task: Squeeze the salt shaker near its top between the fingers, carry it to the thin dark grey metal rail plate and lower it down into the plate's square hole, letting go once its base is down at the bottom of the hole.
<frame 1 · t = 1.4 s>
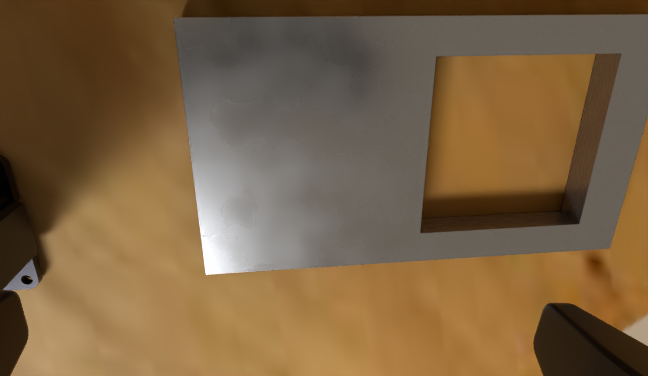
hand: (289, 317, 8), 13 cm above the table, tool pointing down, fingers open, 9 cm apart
rail plate: (416, 142, 20), on the table
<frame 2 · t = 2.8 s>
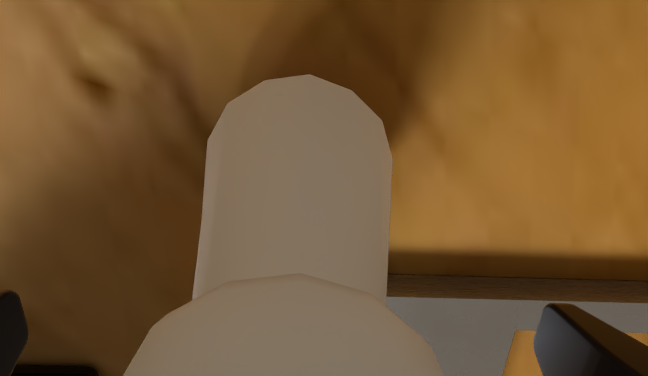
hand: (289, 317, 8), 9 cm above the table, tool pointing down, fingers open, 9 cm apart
rail plate: (482, 373, 21), on the table
salt shaker: (300, 143, 16), on the table
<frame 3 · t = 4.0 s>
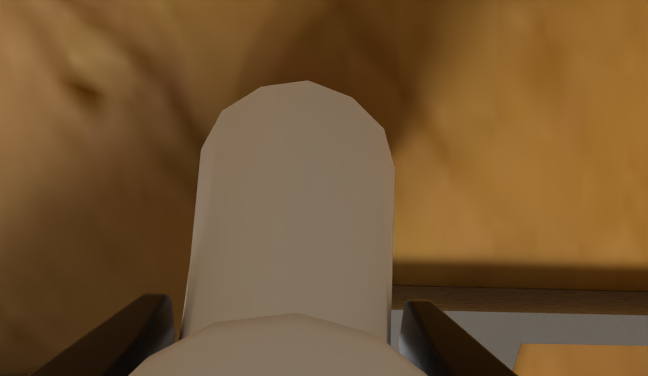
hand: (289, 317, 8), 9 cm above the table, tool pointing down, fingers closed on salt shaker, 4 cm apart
salt shaker: (299, 150, 16), on the table, touching gripper
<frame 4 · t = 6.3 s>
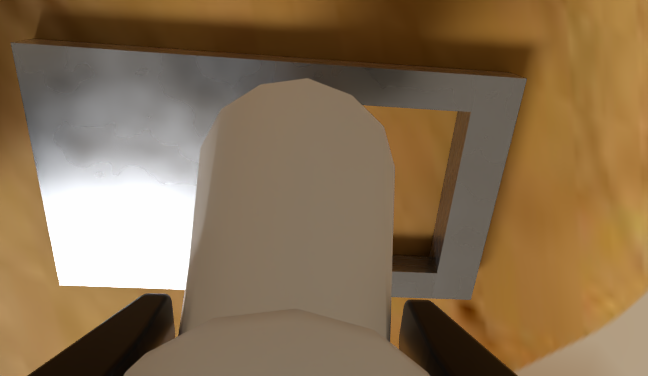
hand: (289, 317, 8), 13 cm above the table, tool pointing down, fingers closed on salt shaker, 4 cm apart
rail plate: (276, 177, 21), on the table
salt shaker: (298, 149, 16), point 4 cm above the table, touching gripper
when the fingers open (9 cm above the table, at t = 8.4 s): salt shaker stays where it is, resting in rail plate.
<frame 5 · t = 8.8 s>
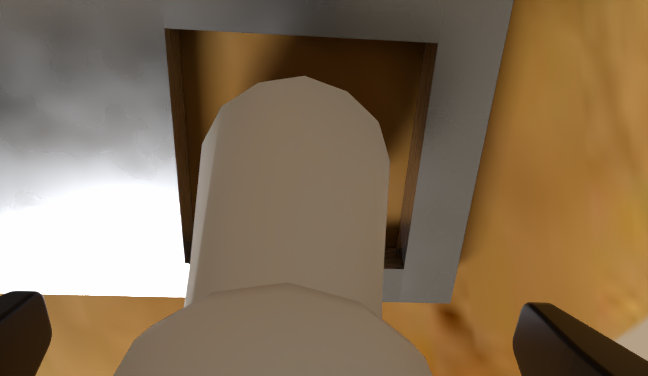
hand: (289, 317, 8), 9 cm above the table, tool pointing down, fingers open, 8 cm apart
rail plate: (187, 144, 16), on the table
salt shaker: (297, 145, 16), resting in rail plate
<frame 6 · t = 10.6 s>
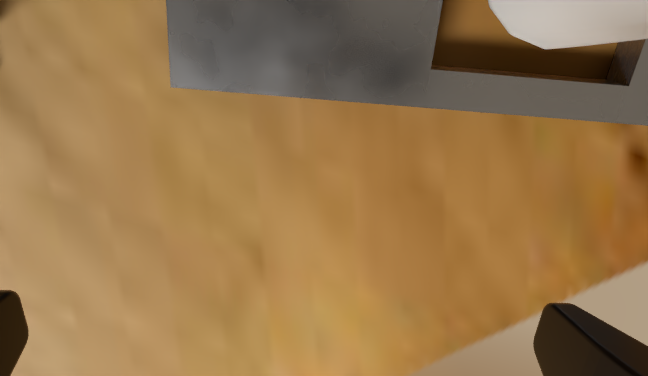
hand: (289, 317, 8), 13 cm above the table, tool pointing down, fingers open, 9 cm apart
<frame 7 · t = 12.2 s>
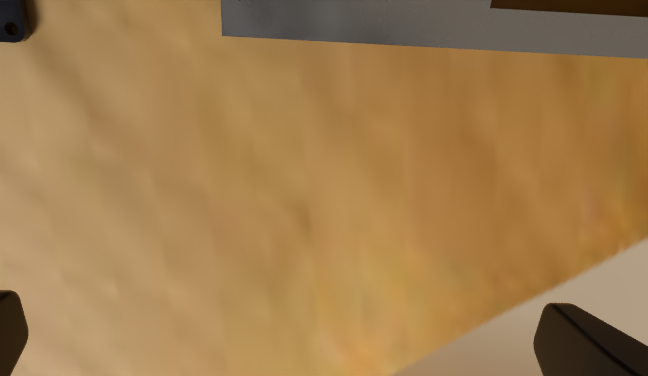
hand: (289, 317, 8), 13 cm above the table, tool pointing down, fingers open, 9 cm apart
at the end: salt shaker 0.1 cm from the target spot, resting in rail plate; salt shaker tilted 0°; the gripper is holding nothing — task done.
